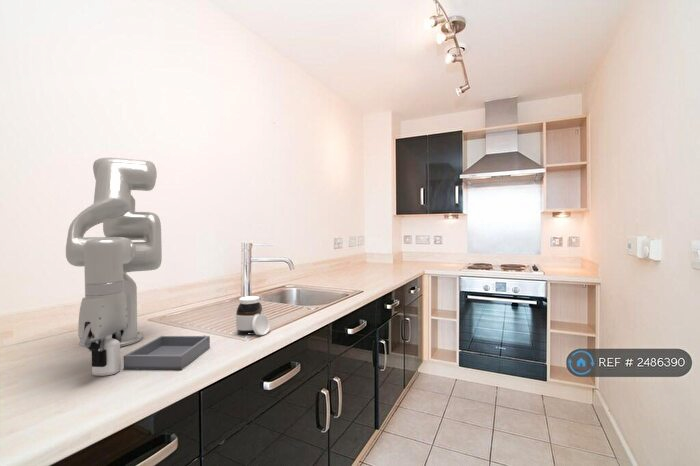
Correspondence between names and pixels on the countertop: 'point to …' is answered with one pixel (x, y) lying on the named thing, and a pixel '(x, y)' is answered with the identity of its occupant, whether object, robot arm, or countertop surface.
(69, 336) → the countertop surface
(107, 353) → the eye dropper bottle
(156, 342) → the dish
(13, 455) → the countertop surface
